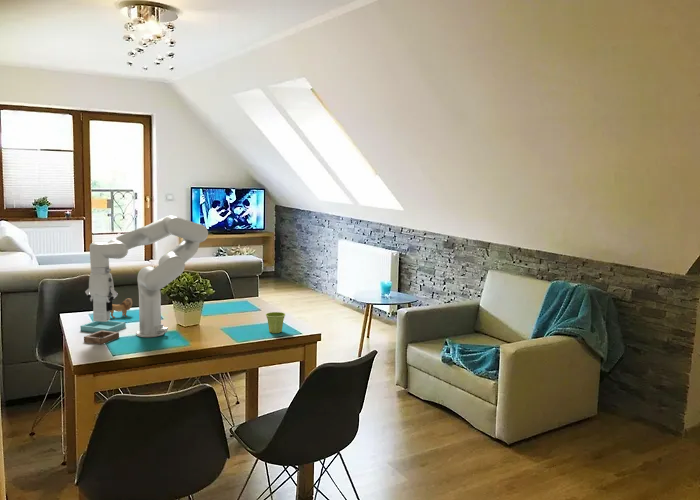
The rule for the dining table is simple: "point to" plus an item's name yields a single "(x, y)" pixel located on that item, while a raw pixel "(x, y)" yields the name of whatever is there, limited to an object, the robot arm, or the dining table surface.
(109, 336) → the holder collar
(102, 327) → the tray
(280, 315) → the plant pot
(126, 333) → the dining table surface
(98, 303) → the skincare box
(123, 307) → the lion figurine
